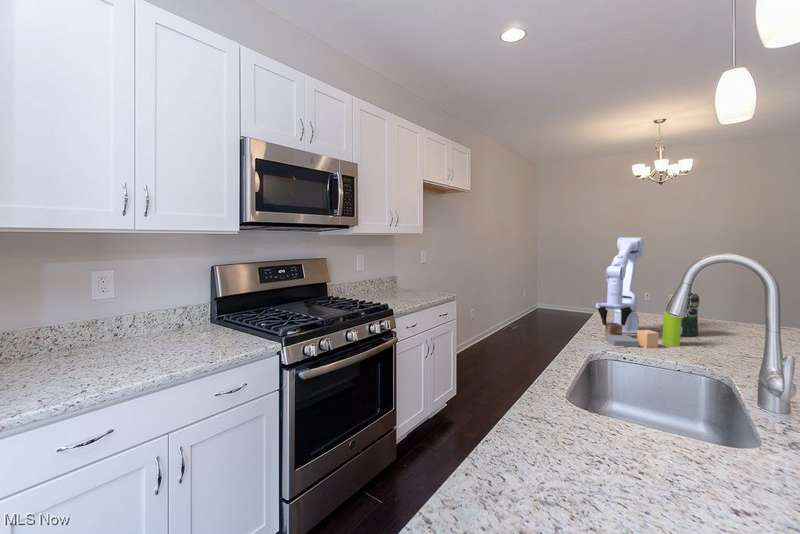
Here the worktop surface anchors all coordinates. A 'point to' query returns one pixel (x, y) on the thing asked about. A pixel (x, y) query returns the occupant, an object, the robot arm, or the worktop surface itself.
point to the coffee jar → (691, 318)
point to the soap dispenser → (671, 330)
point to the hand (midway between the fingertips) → (613, 324)
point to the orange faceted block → (648, 338)
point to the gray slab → (621, 340)
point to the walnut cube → (613, 329)
